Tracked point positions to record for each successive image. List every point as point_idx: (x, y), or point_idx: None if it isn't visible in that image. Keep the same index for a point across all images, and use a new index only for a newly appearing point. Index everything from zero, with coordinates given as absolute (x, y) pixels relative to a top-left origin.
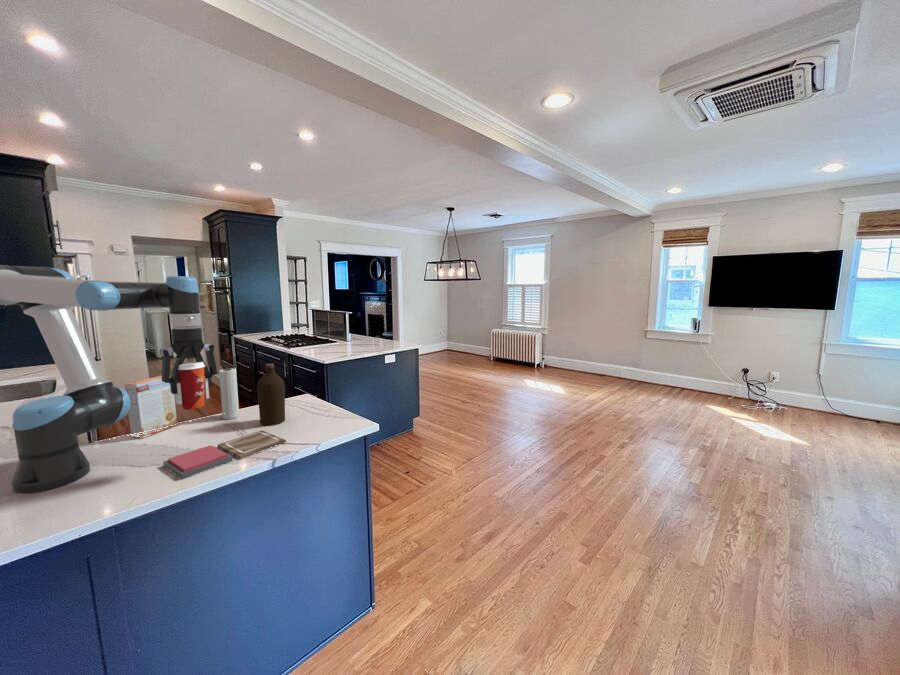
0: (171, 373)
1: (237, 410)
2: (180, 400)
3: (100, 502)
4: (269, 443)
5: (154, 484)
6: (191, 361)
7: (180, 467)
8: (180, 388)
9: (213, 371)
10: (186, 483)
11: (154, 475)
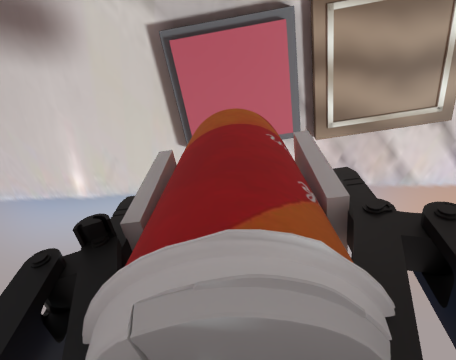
0: (74, 295)
1: None
2: None
3: (58, 137)
4: (407, 115)
5: (142, 130)
6: (297, 343)
7: (189, 125)
8: None
9: (427, 285)
10: None
11: (141, 78)
